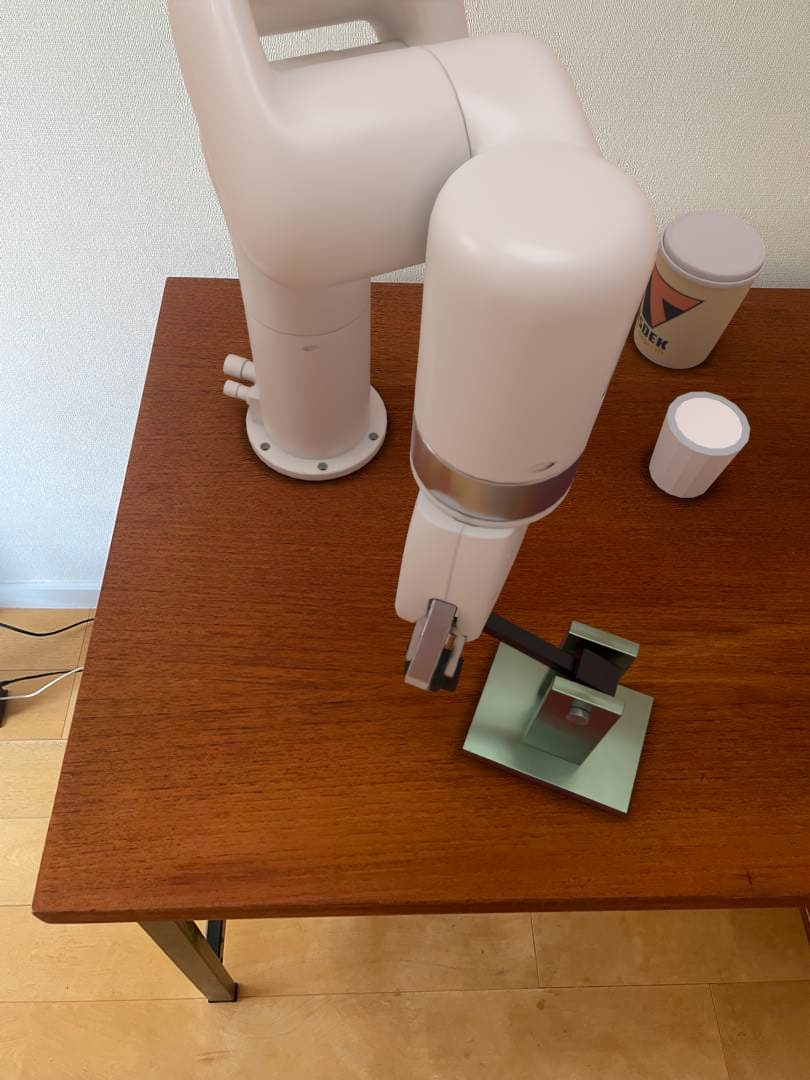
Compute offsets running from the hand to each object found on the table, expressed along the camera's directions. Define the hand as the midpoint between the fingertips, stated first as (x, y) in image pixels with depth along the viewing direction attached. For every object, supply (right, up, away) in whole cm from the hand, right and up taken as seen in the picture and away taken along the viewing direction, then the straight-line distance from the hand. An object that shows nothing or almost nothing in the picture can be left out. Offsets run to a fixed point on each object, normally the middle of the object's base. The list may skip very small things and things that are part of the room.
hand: (457, 611), depth 50 cm
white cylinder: (+21, +10, +22) cm, 33 cm away
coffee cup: (+23, +24, +31) cm, 46 cm away
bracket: (+8, -9, +9) cm, 15 cm away
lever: (+4, -2, +1) cm, 5 cm away
